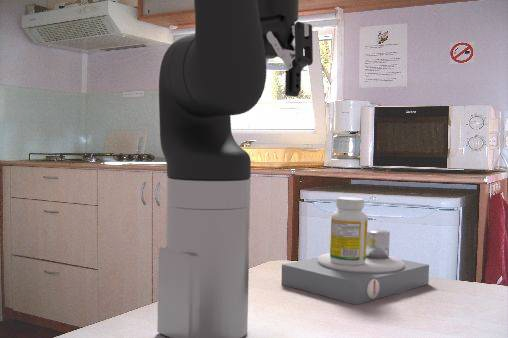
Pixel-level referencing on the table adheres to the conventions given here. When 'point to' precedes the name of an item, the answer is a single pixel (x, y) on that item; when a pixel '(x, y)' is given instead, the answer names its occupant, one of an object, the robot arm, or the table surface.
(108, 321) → the table surface
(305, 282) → the scale
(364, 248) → the supplement bottle
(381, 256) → the cylinder
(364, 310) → the table surface
